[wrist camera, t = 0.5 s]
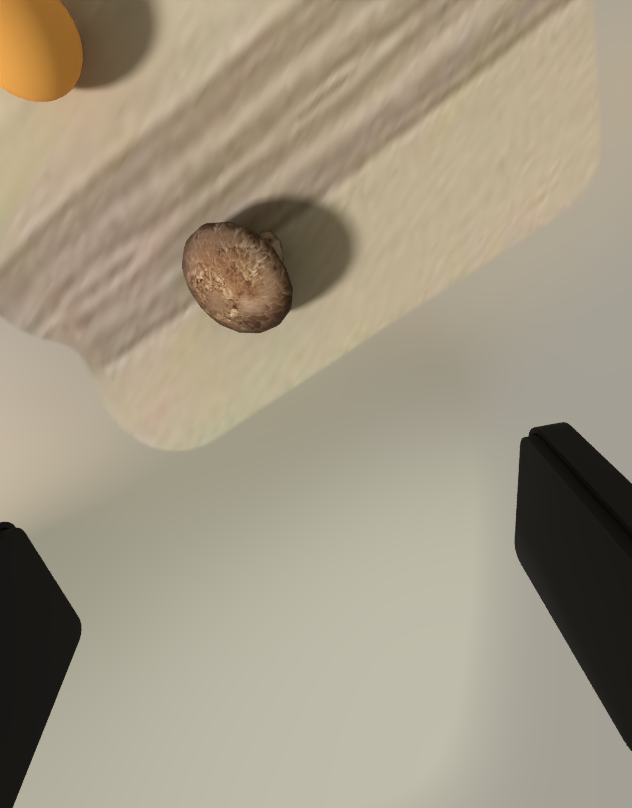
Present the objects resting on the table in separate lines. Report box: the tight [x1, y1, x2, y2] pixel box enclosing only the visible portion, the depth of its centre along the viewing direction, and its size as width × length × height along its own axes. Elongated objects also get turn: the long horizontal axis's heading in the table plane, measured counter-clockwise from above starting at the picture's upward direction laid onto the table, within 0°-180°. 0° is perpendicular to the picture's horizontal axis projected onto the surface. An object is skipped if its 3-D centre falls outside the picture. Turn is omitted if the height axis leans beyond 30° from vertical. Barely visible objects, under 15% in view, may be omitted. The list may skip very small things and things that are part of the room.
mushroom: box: [182, 222, 293, 333], centre depth 32 cm, size 8×8×6 cm
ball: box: [0, 0, 83, 102], centre depth 25 cm, size 6×6×6 cm
